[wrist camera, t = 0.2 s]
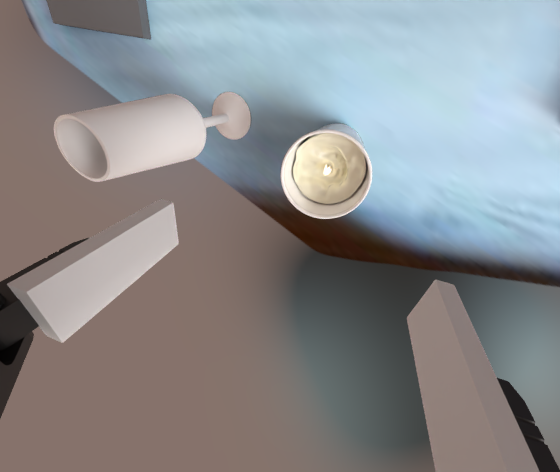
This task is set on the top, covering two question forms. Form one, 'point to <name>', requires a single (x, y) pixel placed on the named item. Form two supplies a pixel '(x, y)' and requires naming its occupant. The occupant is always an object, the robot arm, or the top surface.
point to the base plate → (103, 15)
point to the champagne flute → (144, 133)
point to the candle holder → (327, 172)
